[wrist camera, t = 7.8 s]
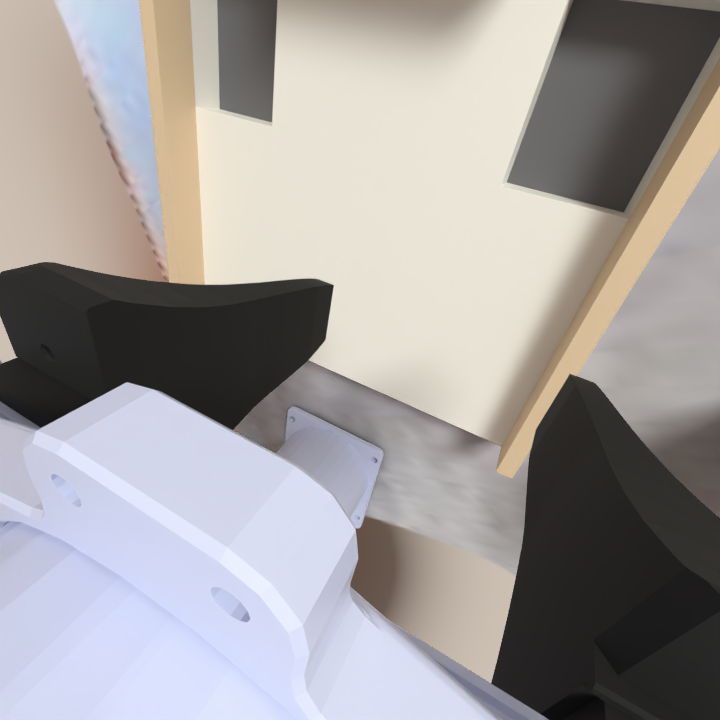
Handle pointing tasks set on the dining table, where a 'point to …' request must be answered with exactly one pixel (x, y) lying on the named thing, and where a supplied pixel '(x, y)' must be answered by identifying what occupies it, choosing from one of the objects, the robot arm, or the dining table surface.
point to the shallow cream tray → (435, 176)
